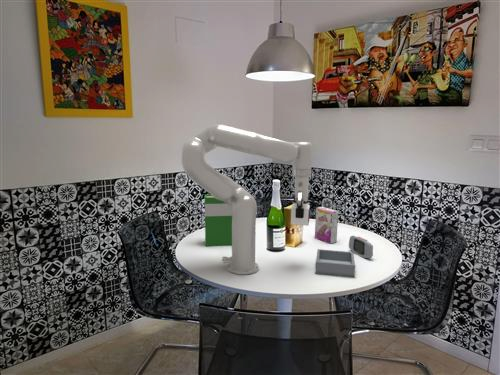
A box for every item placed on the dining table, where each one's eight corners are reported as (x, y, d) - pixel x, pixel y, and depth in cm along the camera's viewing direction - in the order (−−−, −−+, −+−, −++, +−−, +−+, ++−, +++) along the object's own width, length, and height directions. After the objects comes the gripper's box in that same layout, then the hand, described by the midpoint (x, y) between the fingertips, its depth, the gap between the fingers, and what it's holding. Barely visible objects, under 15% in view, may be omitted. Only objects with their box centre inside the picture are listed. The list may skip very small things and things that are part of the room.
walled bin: (315, 273, 146) (315, 261, 145) (317, 260, 161) (317, 249, 160) (354, 277, 143) (355, 265, 142) (352, 263, 157) (353, 252, 157)
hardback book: (240, 240, 186) (240, 193, 181) (242, 245, 179) (242, 197, 174) (205, 241, 184) (204, 194, 179) (205, 246, 176) (204, 197, 172)
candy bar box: (314, 238, 190) (315, 207, 187) (321, 236, 193) (322, 206, 190) (330, 244, 181) (331, 212, 178) (337, 242, 184) (338, 210, 181)
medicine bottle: (308, 225, 148) (309, 196, 145) (290, 224, 149) (291, 195, 147) (309, 221, 154) (310, 193, 152) (292, 220, 156) (293, 192, 154)
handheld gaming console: (347, 250, 173) (348, 234, 172) (352, 249, 174) (353, 233, 173) (368, 261, 160) (370, 243, 159) (374, 260, 161) (375, 242, 160)
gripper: (309, 176, 139) (308, 221, 142) (312, 170, 155) (310, 210, 159) (290, 175, 140) (288, 220, 144) (294, 169, 157) (293, 209, 160)
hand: (300, 215), depth 151 cm, fingers closed on medicine bottle, 7 cm apart
